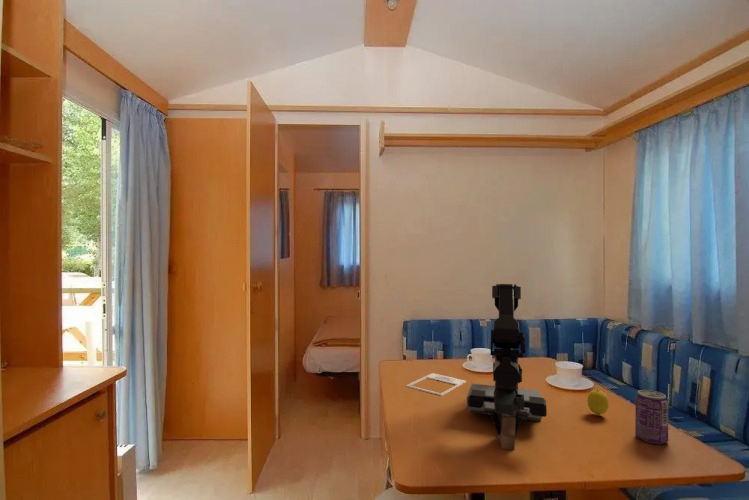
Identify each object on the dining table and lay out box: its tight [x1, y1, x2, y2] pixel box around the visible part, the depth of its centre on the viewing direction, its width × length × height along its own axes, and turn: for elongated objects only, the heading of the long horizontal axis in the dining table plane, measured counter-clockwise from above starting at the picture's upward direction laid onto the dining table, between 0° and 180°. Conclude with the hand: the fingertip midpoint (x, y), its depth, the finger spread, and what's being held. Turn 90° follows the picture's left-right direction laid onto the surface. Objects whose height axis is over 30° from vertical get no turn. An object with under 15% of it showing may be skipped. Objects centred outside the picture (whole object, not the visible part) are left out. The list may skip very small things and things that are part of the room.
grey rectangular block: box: [466, 383, 543, 422], centre depth 119 cm, size 20×12×8 cm, turn 70°
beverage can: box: [634, 389, 669, 445], centre depth 106 cm, size 7×7×12 cm
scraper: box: [497, 414, 516, 450], centre depth 110 cm, size 3×18×8 cm, turn 173°
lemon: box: [587, 388, 609, 417], centre depth 121 cm, size 6×6×8 cm
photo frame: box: [405, 372, 467, 397], centre depth 149 cm, size 15×1×18 cm
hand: (506, 435), depth 104 cm, fingers closed on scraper, 3 cm apart
